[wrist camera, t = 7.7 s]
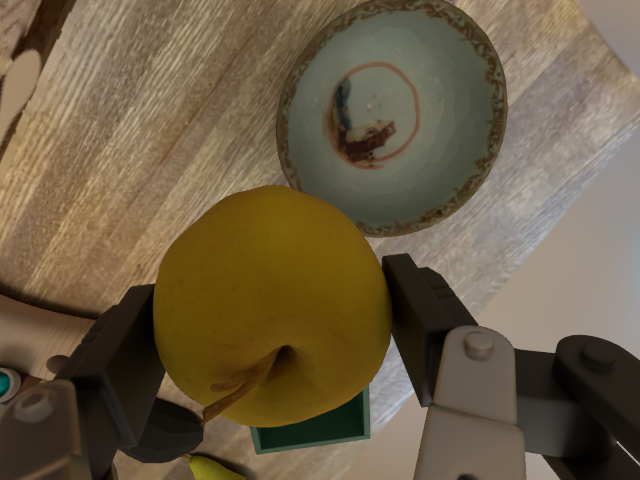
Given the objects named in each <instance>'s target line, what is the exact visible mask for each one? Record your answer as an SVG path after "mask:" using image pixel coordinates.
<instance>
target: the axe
mask: <svg viewBox="0 0 640 480" xmlns="http://www.w3.org/2000/svg"><path fill="white" fill-rule="evenodd" d="M95 321H96V320H92V319H86V318H81V317H75V316H71V315H66V314H61V313H57V312H53V311H49V310H45V309H41V308H38V307H34V306H31V305H28V304H25V303H22V302H19V301H16V300H13V299H11V298H8V297H6V296H3V295H1V294H0V366H1V367H4V368H8V369H12V370H14V371H17V372H20V373H24V374H27V375H31V376H34V377H38V378H42V379H45V380H49V381H50V380H53V379H54V377H55V376H56V375H57V373H58V372H59V370H60V369H61V368H62V366H63V365H64V364H65V362H66V361H67V359H68V358H69V357H70V355H71V354H72V353H73V351H74V350H75V349H76V347H77V346H78V344H81V340H82V339H83V338H84V336H85V335H86V333H89V329H90V328H91V327H92V325H93V324H94V322H95Z"/></svg>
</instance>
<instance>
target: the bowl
mask: <svg viewBox="0 0 640 480" xmlns="http://www.w3.org/2000/svg"><path fill="white" fill-rule="evenodd" d="M507 113H508V103H507V90H506V80H505V75H504V71H503V67H502V65H501V62H500V59H499V57H498V54H497V52H496V50H495V49H494V47H493V45H492V43H491V42H490V40H489V38H488V36H487V35H486V33H485V32H484V31H483V30H482V29H481V28H480V27H479V26H478V25H477V24H476V22H475V21H474V20H473V19H472V18H471V17H470V16H468V15H467V14H466V13H465V12H464V11H462V10H461V9H459V8H457V7H456V6H454V5H452V4H450V3H448V2H446V1H444V0H370V1H367V2H364V3H361V4H359V5H358V6H356V7H354V8H352V9H350V10H349V11H347V12H345V13H344V14H342V15H340V16H338V17H337V18H336V19H334V20H333V21H332V22H331V23H329V24H328V25H327V26H326V27H324V28H323V29H322V30H321V31H320V32H319V33H318V34H317V35H316V36H315V38H314V39H313V40H312V41H311V42H310V43H309V44H308V46H307V47H306V48H305V49H304V50H303V52H302V53H301V54H300V55H299V57H298V59H297V60H296V62H295V64H294V66H293V68H292V69H291V71H290V73H289V75H288V77H287V80H286V82H285V85H284V88H283V90H282V93H281V98H280V103H279V108H278V113H277V126H276V138H277V148H278V156H279V160H280V164H281V167H282V170H283V173H284V175H285V177H286V179H287V181H288V183H289V185H290V187H291V188H292V189H293V190H296V191H299V192H302V193H305V194H308V195H310V196H313V197H315V198H318V199H320V200H323V201H325V202H327V203H329V204H331V205H333V206H335V207H336V208H337V209H339V210H340V211H341V212H342V213H343V214H344V215H346V216H347V217H348V218H349V219H350V220H351V221H352V222H353V223H354V224H355V226H356V227H357V228H358V229H359V230H360V232H361V233H362V235H363V236H365V237H373V238H382V237H393V236H401V235H405V234H409V233H413V232H417V231H420V230H423V229H425V228H428V227H431V226H433V225H435V224H437V223H439V222H440V221H442V220H444V219H446V218H448V217H449V216H450V215H452V214H453V213H454V212H456V211H457V210H458V209H459V208H461V207H462V206H463V205H464V204H465V203H466V202H467V201H468V200H469V199H470V198H471V197H472V196H473V195H474V194H475V193H476V191H477V190H478V189H479V187H480V186H481V185H482V183H483V182H484V180H485V179H486V177H487V176H488V174H489V172H490V170H491V168H492V166H493V164H494V162H495V161H496V158H497V156H498V153H499V150H500V147H501V144H502V141H503V137H504V132H505V128H506V121H507Z"/></svg>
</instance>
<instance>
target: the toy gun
mask: <svg viewBox="0 0 640 480" xmlns="http://www.w3.org/2000/svg"><path fill="white" fill-rule="evenodd" d="M41 379H42V378H38V377H34V376H31V375H27V374H24V373H20V372H17V371H14V370H12V369H8V368H4V367H1V366H0V411H1V410H2V409H3V408H4V407H5V406H6V405H7V404H8V403H9V402H10V401H11V400H12V399H14V398H15V397H16V396H18V395H19V394H21V393H22V392H24V391H25V390H27V389H29V388H31V387H33V386H35V385H38V384H39V382H40V381H41Z"/></svg>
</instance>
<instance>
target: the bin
mask: <svg viewBox="0 0 640 480" xmlns="http://www.w3.org/2000/svg"><path fill="white" fill-rule="evenodd" d="M250 430H251V434H252V438H253V443H254V447H255V451H256V454H264V453H271V452H279V451H286V450H293V449H300V448H307V447H314V446H321V445H328V444H335V443H342V442H350V441H357V440H364V439H370V406H369V384H368V385H367V386H366V387H365V388H364V389H363V390H362V391H361V392H360V393H359V394H357V395H356V396H355V397H353V398H352V399H351V400H350V401H348V402H346V403H344V404H342V405H340V406H339V407H337V408H335V409H333V410H330V411H328V412H325V413H323V414H320V415H318V416H315V417H312V418H309V419H307V420H304V421H301V422H297V423H293V424H288V425H284V426H278V427H252V426H250Z"/></svg>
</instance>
